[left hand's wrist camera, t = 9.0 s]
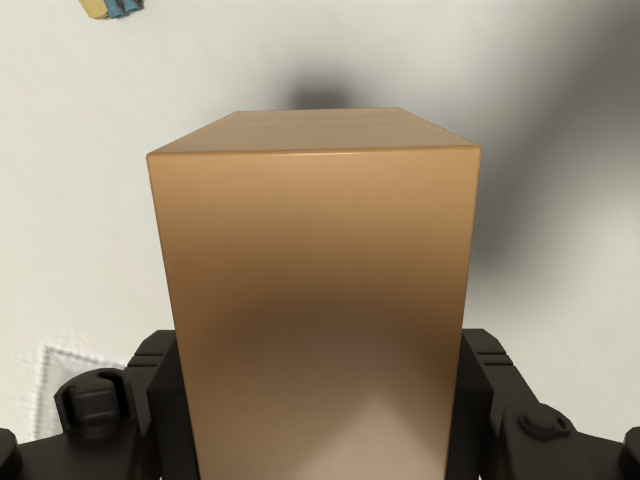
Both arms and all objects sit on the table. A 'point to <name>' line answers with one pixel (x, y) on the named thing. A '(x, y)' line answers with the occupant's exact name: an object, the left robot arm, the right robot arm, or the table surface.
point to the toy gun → (109, 7)
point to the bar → (318, 289)
